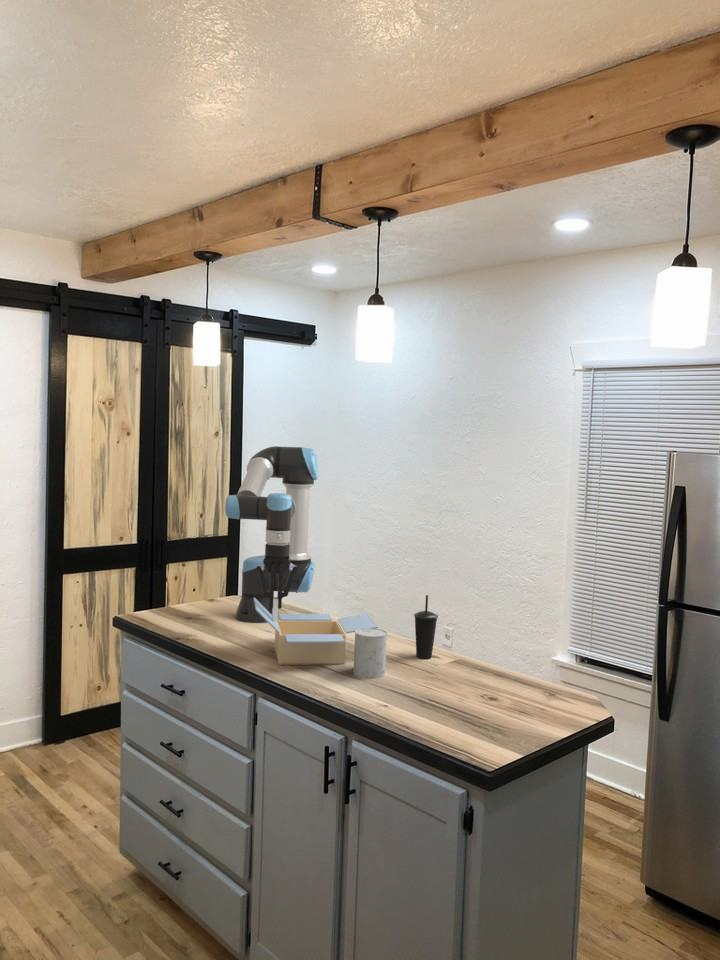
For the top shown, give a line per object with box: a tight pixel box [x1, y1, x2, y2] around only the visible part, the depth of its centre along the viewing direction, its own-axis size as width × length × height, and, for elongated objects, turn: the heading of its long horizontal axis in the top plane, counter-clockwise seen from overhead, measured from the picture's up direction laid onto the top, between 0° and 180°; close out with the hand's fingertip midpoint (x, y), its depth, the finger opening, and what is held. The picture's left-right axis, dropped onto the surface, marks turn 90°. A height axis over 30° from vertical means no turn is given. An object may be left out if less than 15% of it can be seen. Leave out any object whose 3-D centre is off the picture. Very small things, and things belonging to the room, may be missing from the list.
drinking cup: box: [413, 594, 439, 660], centre depth 244 cm, size 8×8×20 cm
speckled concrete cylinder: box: [352, 628, 388, 680], centre depth 225 cm, size 10×10×12 cm
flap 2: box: [337, 613, 379, 634], centre depth 242 cm, size 17×10×1 cm, turn 10°
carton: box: [274, 613, 347, 666], centre depth 240 cm, size 34×20×9 cm, turn 10°
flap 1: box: [253, 598, 280, 633], centre depth 237 cm, size 17×10×1 cm
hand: (274, 618), depth 237 cm, fingers closed
